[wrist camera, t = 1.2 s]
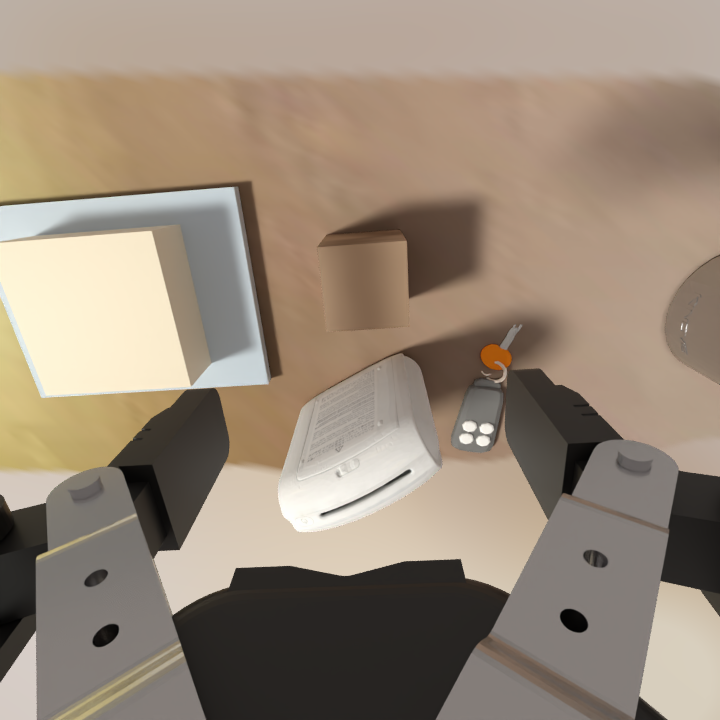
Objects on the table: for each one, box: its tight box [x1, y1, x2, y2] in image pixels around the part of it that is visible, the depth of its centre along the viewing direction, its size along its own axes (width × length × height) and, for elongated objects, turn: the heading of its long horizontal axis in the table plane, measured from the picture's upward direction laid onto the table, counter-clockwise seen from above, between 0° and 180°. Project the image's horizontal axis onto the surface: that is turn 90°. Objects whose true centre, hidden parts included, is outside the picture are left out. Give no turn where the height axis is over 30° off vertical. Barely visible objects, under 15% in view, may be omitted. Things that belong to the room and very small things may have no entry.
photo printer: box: [278, 353, 442, 532], centre depth 28 cm, size 10×4×12 cm, turn 121°
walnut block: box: [317, 229, 410, 332], centre depth 28 cm, size 5×5×6 cm
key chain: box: [451, 324, 523, 453], centre depth 33 cm, size 13×4×2 cm, turn 172°
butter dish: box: [0, 187, 271, 398], centre depth 29 cm, size 18×14×5 cm
